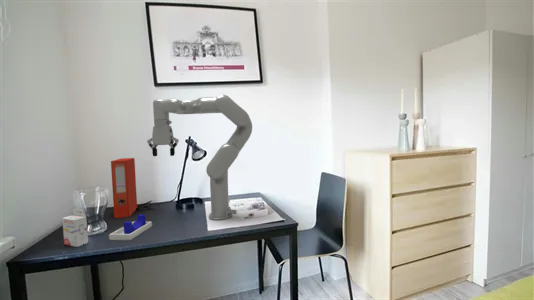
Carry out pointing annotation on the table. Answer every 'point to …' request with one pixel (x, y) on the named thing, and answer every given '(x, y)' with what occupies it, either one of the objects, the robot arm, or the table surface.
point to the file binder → (124, 187)
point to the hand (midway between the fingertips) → (163, 155)
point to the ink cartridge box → (75, 228)
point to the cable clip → (134, 224)
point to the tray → (121, 236)
